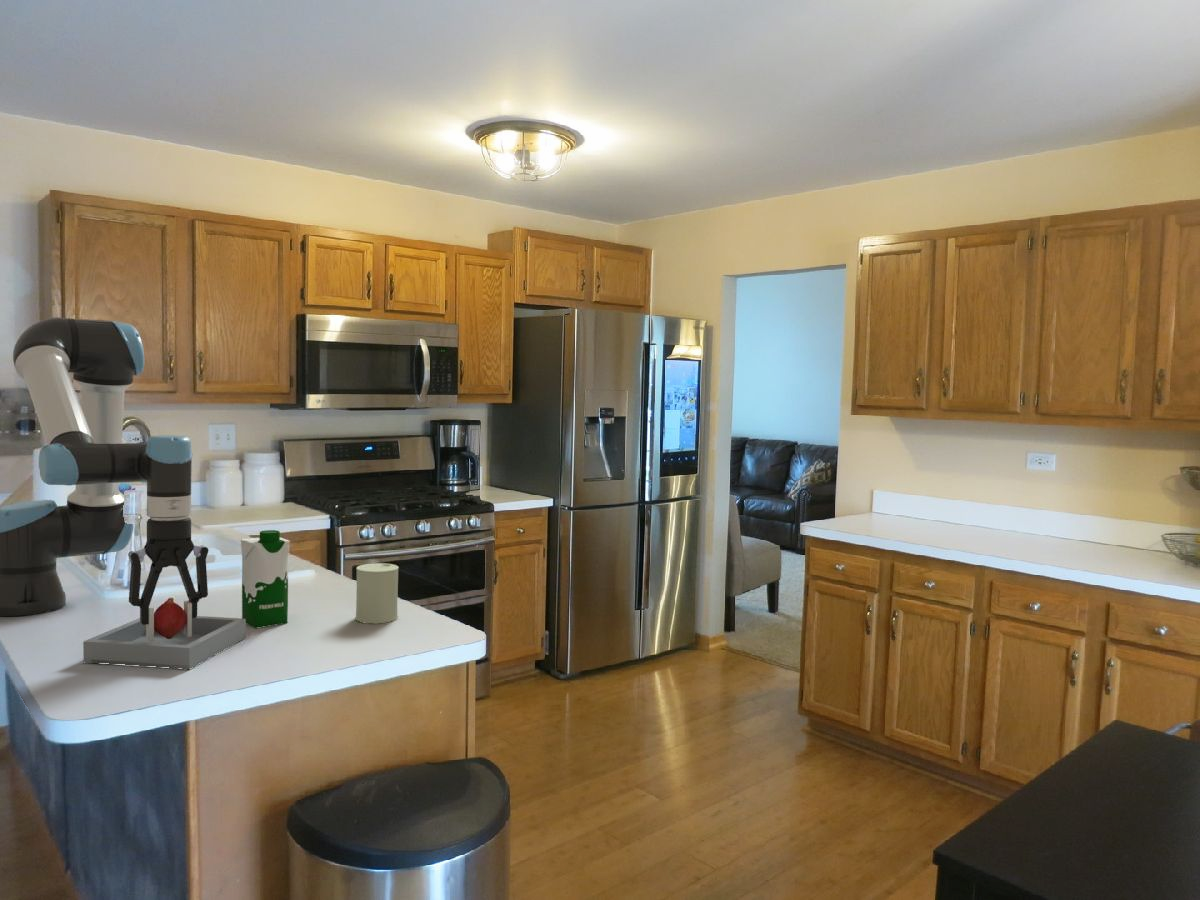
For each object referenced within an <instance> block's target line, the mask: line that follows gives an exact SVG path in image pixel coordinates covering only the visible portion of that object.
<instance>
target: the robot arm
mask: <svg viewBox="0 0 1200 900" xmlns="http://www.w3.org/2000/svg"><path fill="white" fill-rule="evenodd" d="M141 338H142V337H141V336H140V333H139V331H138V330H137V329H136V326H134V325H132V324H130V323H126V322H119V321H113V320H105V319H104V320H102V319H100V320H99V319H88V318H87V319H82V318H66V317H58V316H57V317H48V318H45V319H42V320H39V321H37V322H35V323H34V324H32V325H30V326H29V327H28V328H26V329H25V330H24V331H23V332H22V333H21V335H20V336H19V337H18V339H17V340H16V342H15V344H14V347H13V350H12V351H13V352H12V361H13V365H14V368H15V371H16V373H17V375H18V376H19V378H21V379H22V380H23V381H25V383H26V385H27V386H26V387H27V390H28V392H29V395H30V398H31V401H32V404H33V407H34V410H35V413H36V416H37V419H38V422H39V424H40V429H41V431H42V433H43V437H44V439H45V440H44V441H45V443H46V444H45V445H43V446H42V447H41V448H40V450H39V455H38V469H39V476H40V480H41V481H42V482H43V483H45V484H46V485H50V486H75V489H74V490H73V491H72V492H71V493H69V494H68V495H67V498H66V505H57V503H56V501H55V500H53V499H40V500H36V499H35V500H29V501H23V502H22V501H21V502H17V503H12V504H8V505H4V506H2V507H0V617H16V616H19V617H20V616H27V615H29V616H30V615H36V614H42V613H48V612H51V611H52V612H53V611H56V610H58V609H61V608H64V607H65V606H66V605H67V601H66V600H67V598H66V596H67V595H66V592H65V591H64V589H63V585H62V582H61V580H60V577H59V574H58V571H57V559H58V558H59V559H60V558H69V557H79V556H89V555H91V556H92V555H106V554H109V553H115V552H116V553H117V552H121V551H123V550H124V549H125V548H126V547H127V546H128V545H129V543H130V541H131V539H132V536H133V532H134V527H135V524H134V525H133V524H127V523H125V522H124V517H123V505H124V496H125V494H123V493H122V492H121V491H120V483H138V482H141V483H142V482H146V516H147V517H149V518H148V519H147V521H146V542H145V545H144V547H143V548H142V549H138V550H135V551H133V550H132V551H129V552H128V553H127V556H128V559H129V561H130V577H129V588H128V589H129V592H128V603H130V604H131V605H132V606H134V607H138V608H139V618H140V622H141V623H142V624H143V625H146V640H147V641H148V642H149V643H150V642H154V612H155V608H154V607H153V606H152V605H151V602H152V598H153V596H154V593H155V591H156V586H157V585H158V582H159V581H158V580H159V578H160V576H161V573H162V571H163V568H168V567H176V568H177V569H178V572H179V575H180V578H181V581H182V585H183V587H184V590H185V593H186V597H187V599H186V600H183V610H184V612H185V615H186V624H185V626H184V634H185V635H186V636H187V637H191V636H192V618H196V617H197V616H198V603H199V602H200V600H201V599H204V598H207V597H208V595H209V590H208V588H209V587H208V573H207V558H208V557H207V556H208V553H209V548H208V547H207V546H205V545H196V544H194V542H193V540H192V519H191V517H190V515H192V464H193V463H192V461H193V460H192V459H193V452H192V442H191V439H190V438H189V437H188V436H185V435H173V434H172V435H170V434H169V435H168V434H167V435H166V434H165V435H162V434H161V435H160V434H159V435H152V436H149V437H148V438H147V440H146V441H139V442H132V443H131V442H130V443H129V442H128V443H126V442H125V443H122V441H123V430H124V429H123V427H124V410H125V393H126V390H127V389H128V388H130V387H131V386H133V384H134V376H136V377H137V376H139V375H142V374H143V372H144V368H145V352H144V351H145V350H144V345H143V341H142V339H141ZM69 373H72V378H71V376H70V374H69ZM72 380H73V381H74V382H75V383H76V384H77V386H79V388H80V392H79V393H80V394H79V398H78V395H77V392H76V390H75V387H74V384H73V382H72ZM192 552H193V556H194V557H195V568H196V583H197V591H196V588H195V586H194V583H193V580H192V577H191V574H190V571H189V569H188V568H189V566H188V563H187V561H186V560H187V559H188V557H189V556H190V554H191V553H192ZM146 556H147V557H148V558H149V560H150V561H151V565H150V568H149V569H150V570H149V573H148V576H147V578H146V581H145V584H144V588H143V590H142V593H141V597H140V592H141V591H140V589H141V578H142V577H141V575H142V562H144V557H146Z"/></svg>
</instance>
